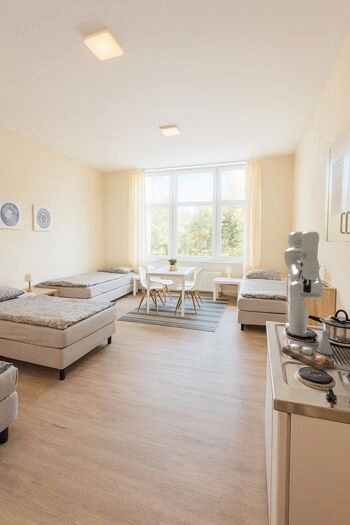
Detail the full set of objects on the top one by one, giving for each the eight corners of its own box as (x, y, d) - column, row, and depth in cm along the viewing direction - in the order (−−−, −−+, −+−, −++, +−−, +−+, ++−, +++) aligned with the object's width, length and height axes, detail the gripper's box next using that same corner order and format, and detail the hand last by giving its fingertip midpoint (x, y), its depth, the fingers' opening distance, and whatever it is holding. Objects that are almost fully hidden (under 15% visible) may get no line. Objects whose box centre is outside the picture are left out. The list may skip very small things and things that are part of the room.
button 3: (313, 362, 120) (313, 356, 119) (319, 361, 121) (319, 354, 121) (321, 366, 116) (321, 359, 116) (327, 365, 118) (327, 358, 117)
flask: (335, 356, 127) (336, 336, 127) (318, 354, 129) (320, 334, 128) (329, 350, 134) (331, 331, 134) (314, 348, 136) (315, 329, 135)
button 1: (288, 350, 132) (288, 344, 132) (293, 349, 134) (294, 343, 134) (294, 354, 129) (295, 347, 128) (300, 352, 130) (300, 346, 130)
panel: (282, 351, 132) (282, 346, 132) (296, 348, 136) (296, 343, 136) (318, 369, 114) (318, 363, 114) (333, 365, 118) (334, 359, 118)
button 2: (300, 354, 126) (300, 347, 126) (306, 352, 127) (306, 346, 127) (307, 357, 122) (307, 350, 122) (313, 356, 124) (313, 349, 124)
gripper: (304, 257, 126) (302, 295, 128) (325, 256, 132) (323, 292, 134) (292, 256, 133) (290, 292, 135) (312, 255, 139) (310, 290, 141)
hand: (306, 292), depth 134 cm, fingers closed
